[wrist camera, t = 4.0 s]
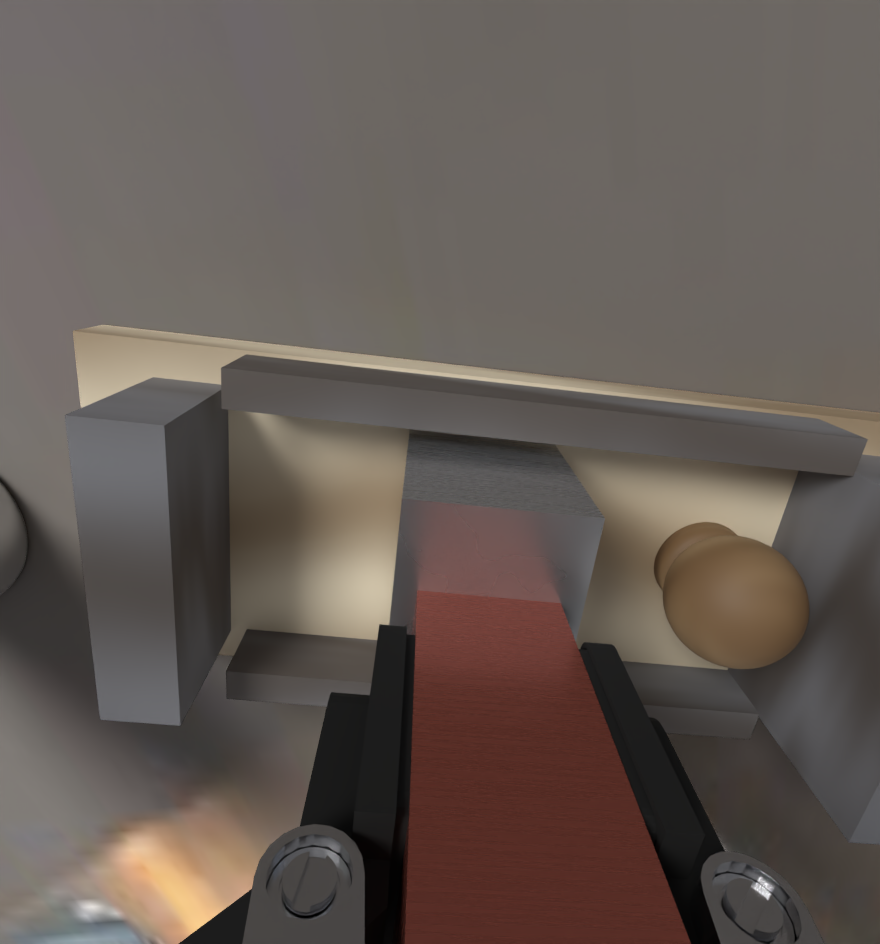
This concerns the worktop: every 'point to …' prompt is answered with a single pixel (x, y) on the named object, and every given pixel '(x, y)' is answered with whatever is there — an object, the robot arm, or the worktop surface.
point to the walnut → (730, 596)
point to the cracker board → (378, 516)
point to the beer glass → (11, 540)
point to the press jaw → (511, 712)
